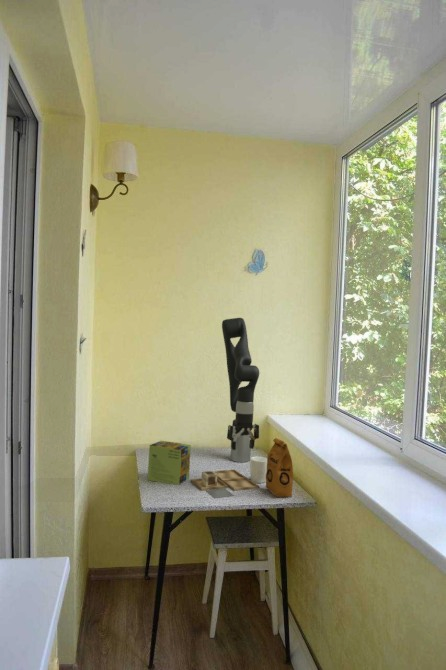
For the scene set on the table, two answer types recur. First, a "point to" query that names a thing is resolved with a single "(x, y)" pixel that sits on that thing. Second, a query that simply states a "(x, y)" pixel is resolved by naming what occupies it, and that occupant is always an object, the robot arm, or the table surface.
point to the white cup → (258, 469)
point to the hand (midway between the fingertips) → (242, 449)
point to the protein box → (169, 462)
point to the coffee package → (279, 470)
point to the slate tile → (219, 493)
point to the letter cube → (209, 478)
